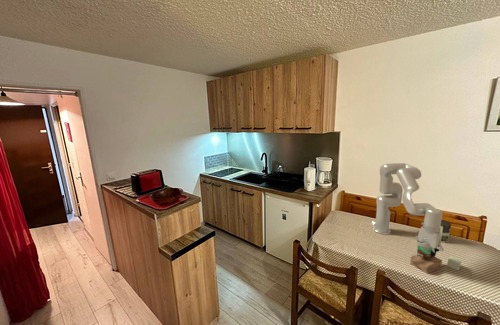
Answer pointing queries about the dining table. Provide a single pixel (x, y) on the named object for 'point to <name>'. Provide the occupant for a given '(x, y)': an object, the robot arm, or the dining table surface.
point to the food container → (424, 250)
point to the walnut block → (426, 263)
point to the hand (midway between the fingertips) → (426, 253)
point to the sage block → (454, 263)
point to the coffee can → (445, 231)
